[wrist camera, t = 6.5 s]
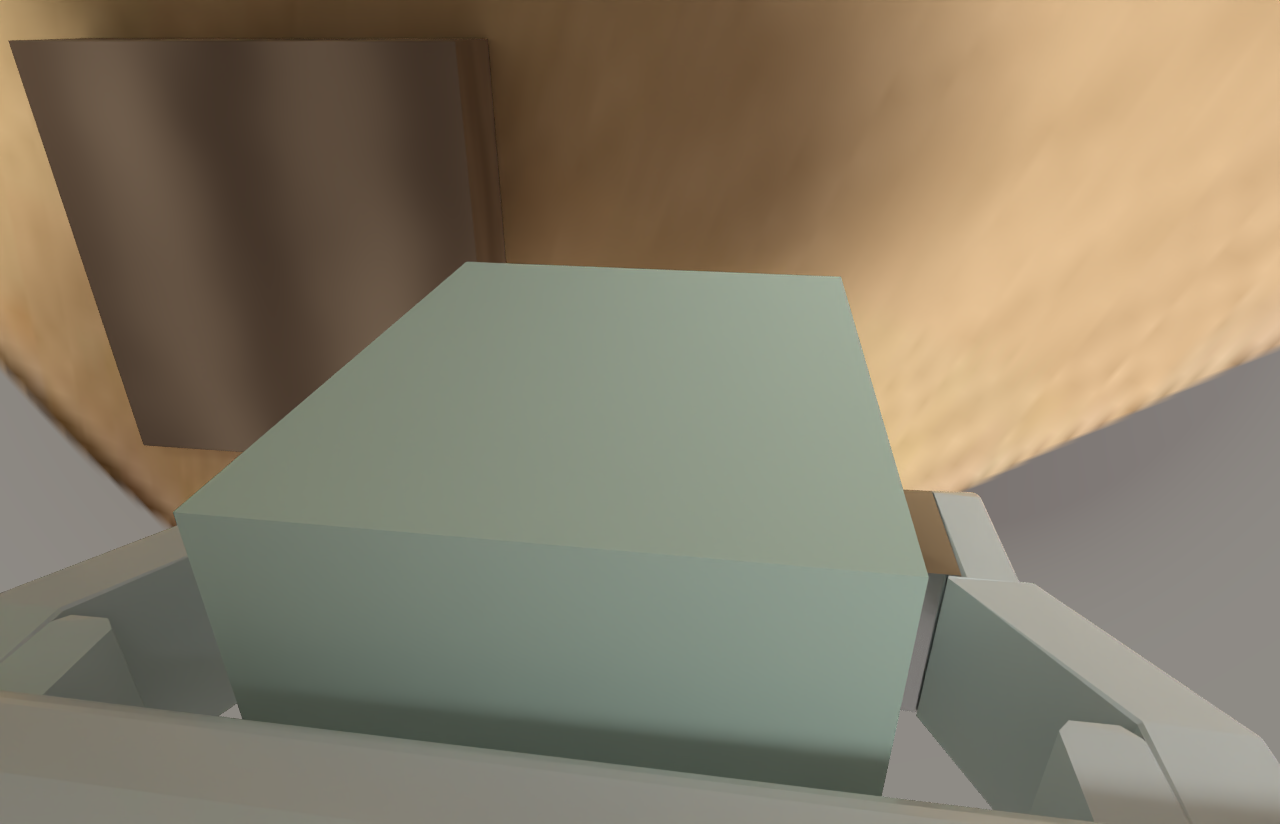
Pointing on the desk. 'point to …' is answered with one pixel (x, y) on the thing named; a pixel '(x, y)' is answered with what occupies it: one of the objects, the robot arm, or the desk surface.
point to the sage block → (582, 531)
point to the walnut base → (261, 206)
